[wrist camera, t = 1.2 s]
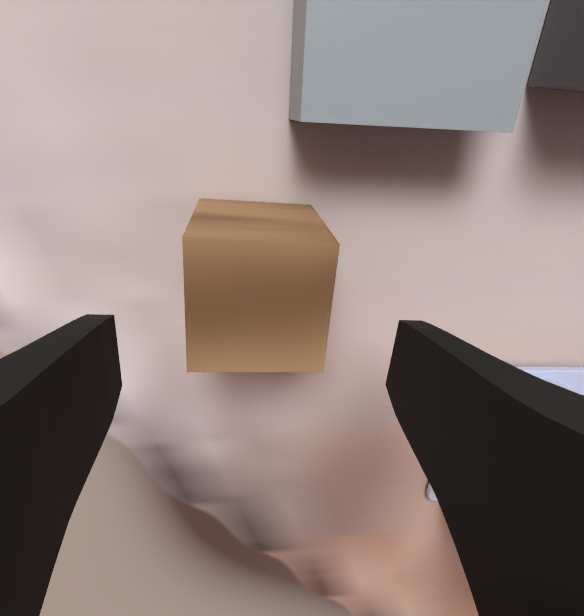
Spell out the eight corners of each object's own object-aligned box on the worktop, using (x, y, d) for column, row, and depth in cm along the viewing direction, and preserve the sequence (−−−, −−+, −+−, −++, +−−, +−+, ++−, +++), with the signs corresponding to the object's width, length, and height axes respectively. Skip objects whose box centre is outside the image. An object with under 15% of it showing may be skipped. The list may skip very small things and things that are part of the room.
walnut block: (301, 304, 19) (322, 372, 14) (201, 301, 18) (187, 372, 14) (311, 205, 17) (339, 244, 12) (199, 198, 17) (182, 237, 12)
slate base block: (461, 127, 17) (512, 132, 14) (288, 118, 16) (300, 121, 13) (509, -104, 14) (588, -166, 11) (299, -130, 13) (318, -206, 10)
